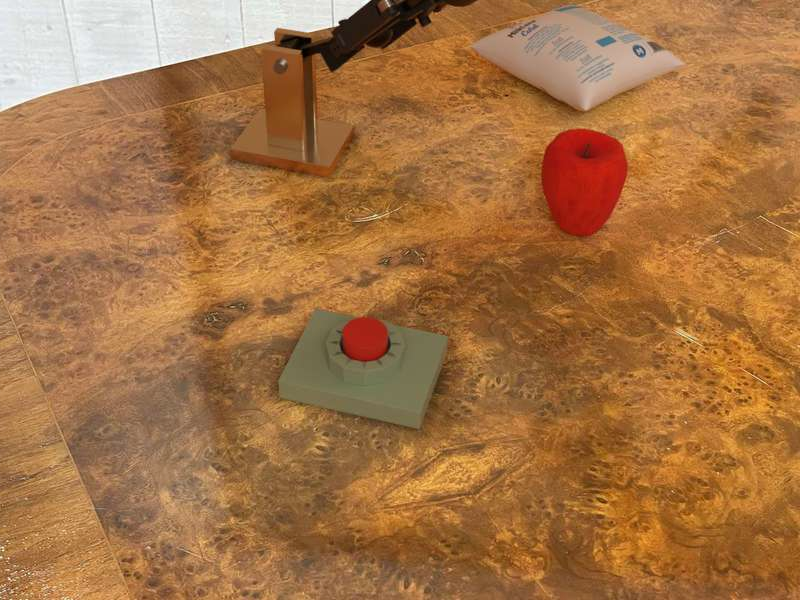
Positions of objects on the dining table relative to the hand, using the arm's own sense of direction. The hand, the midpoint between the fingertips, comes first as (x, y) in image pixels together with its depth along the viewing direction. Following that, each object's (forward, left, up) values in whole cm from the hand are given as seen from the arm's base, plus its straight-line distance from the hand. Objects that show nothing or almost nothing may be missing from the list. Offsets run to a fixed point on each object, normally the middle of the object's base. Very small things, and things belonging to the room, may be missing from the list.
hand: (353, 48), depth 116 cm
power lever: (-1, -2, 0) cm, 2 cm away
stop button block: (+12, -35, -13) cm, 39 cm away
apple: (+27, -7, -13) cm, 31 cm away
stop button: (+12, -35, -9) cm, 38 cm away
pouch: (+22, +23, -13) cm, 35 cm away
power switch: (-7, -2, -13) cm, 15 cm away
